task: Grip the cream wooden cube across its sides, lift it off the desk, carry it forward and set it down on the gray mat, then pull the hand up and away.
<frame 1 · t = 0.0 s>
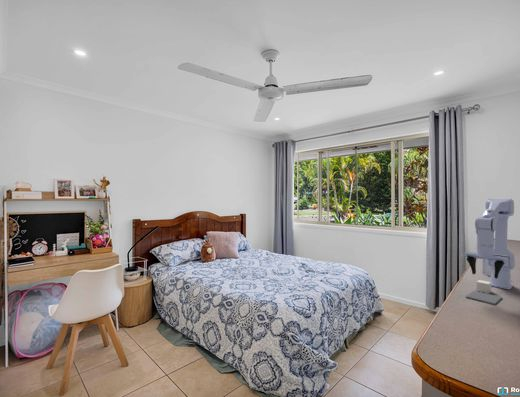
hand: (484, 275, 119), 10 cm above the table, tool pointing down, fingers open, 7 cm apart
gray mat: (483, 297, 120), on the table
cream cube: (483, 291, 128), on the table
medicine box: (490, 275, 154), on the table
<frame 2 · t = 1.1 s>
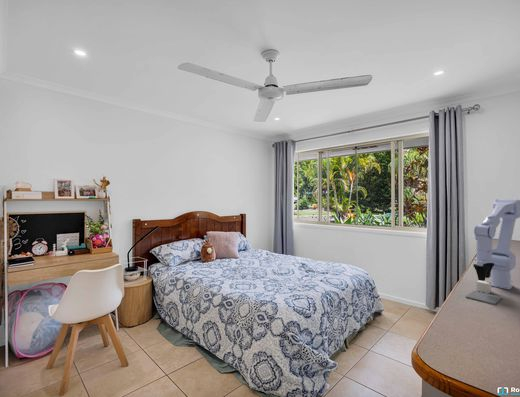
hand: (483, 278, 128), 6 cm above the table, tool pointing down, fingers open, 7 cm apart
nothing on the table moved.
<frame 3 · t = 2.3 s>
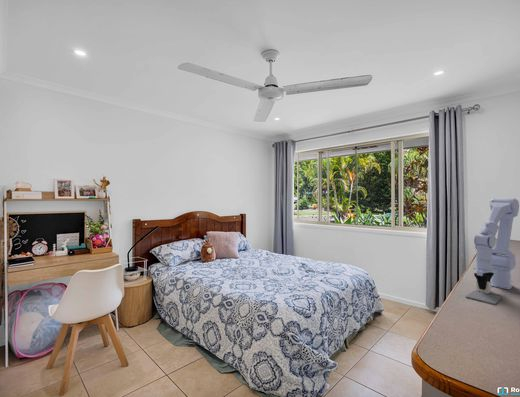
hand: (483, 288, 128), 1 cm above the table, tool pointing down, fingers closed on cream cube, 4 cm apart
cream cube: (483, 291, 128), on the table, touching gripper
everything else where it was.
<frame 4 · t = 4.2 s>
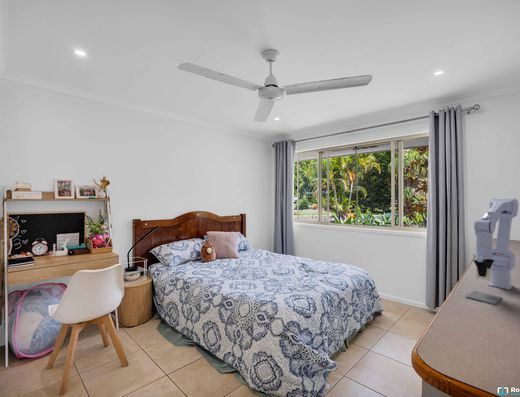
hand: (483, 275, 125), 9 cm above the table, tool pointing down, fingers closed on cream cube, 4 cm apart
cream cube: (483, 278, 125), point 7 cm above the table, touching gripper
everything else where it was.
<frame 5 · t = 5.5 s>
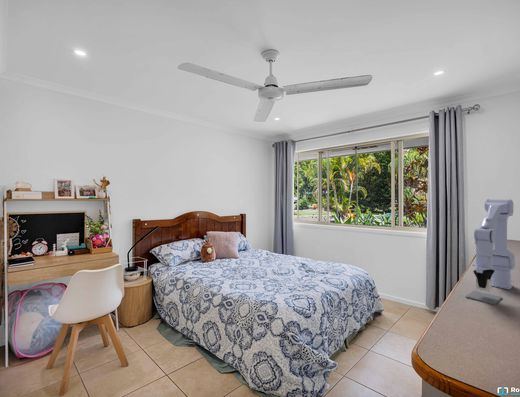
hand: (483, 286, 120), 5 cm above the table, tool pointing down, fingers closed on cream cube, 4 cm apart
cream cube: (483, 289, 120), point 4 cm above the table, touching gripper
everything else where it was.
when the fingers open (3 cm above the table, at t = 6.4 s): cream cube drops 1 cm, resting on gray mat.
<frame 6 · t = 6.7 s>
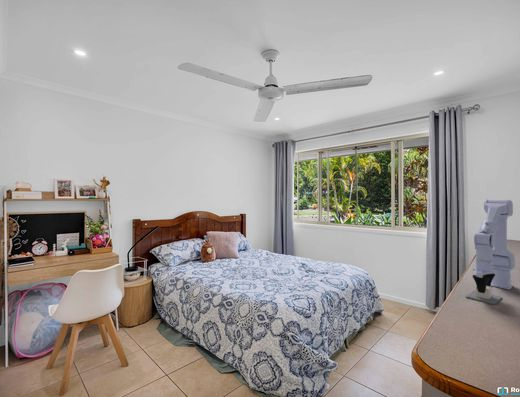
hand: (483, 290, 120), 3 cm above the table, tool pointing down, fingers open, 7 cm apart
cream cube: (483, 296, 120), point 1 cm above the table, touching gray mat
everything else where it was.
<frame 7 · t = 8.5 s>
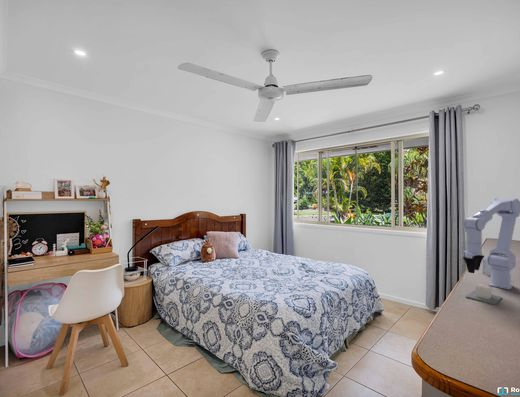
hand: (473, 271, 129), 9 cm above the table, tool pointing down, fingers open, 7 cm apart
nothing on the table moved.
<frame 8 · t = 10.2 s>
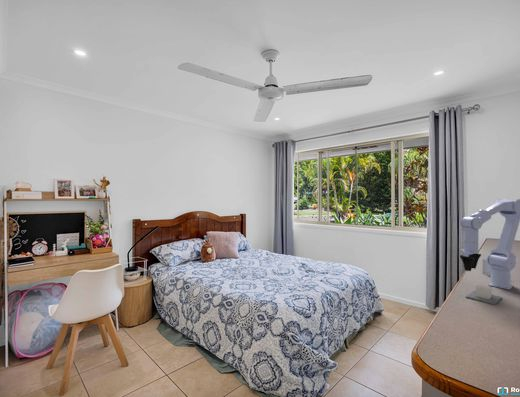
hand: (470, 269, 132), 9 cm above the table, tool pointing down, fingers open, 7 cm apart
nothing on the table moved.
at the end: cream cube inside the target area on the gray mat (0.0 cm from its centre), point 0.6 cm above the gray mat's base; cream cube tilted 0°; the gripper is holding nothing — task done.
